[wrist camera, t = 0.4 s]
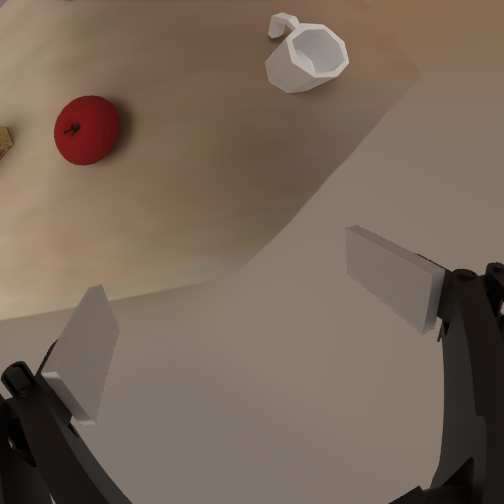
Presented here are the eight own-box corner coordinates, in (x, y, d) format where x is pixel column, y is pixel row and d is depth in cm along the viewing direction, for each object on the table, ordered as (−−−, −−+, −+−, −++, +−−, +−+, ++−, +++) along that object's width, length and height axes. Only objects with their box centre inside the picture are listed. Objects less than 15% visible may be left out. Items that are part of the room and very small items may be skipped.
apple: (127, 158, 35) (108, 158, 26) (71, 169, 33) (40, 174, 24) (125, 96, 32) (106, 79, 23) (69, 109, 30) (38, 98, 21)
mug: (325, 81, 37) (359, 66, 28) (282, 103, 37) (309, 89, 28) (285, 22, 32) (309, -5, 23) (239, 41, 32) (254, 12, 23)
